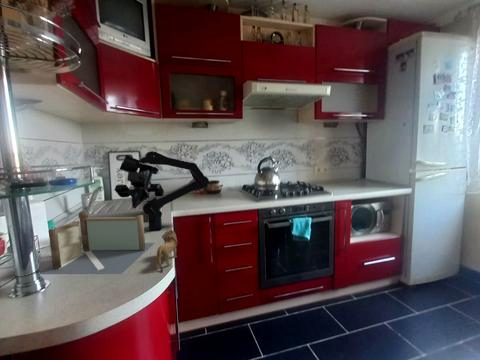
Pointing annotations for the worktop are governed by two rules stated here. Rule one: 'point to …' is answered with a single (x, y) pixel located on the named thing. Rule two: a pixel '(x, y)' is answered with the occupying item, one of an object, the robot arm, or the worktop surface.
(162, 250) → the lion figurine
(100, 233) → the swinging fence panel
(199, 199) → the worktop surface
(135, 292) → the worktop surface
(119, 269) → the card
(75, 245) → the fixed fence section
